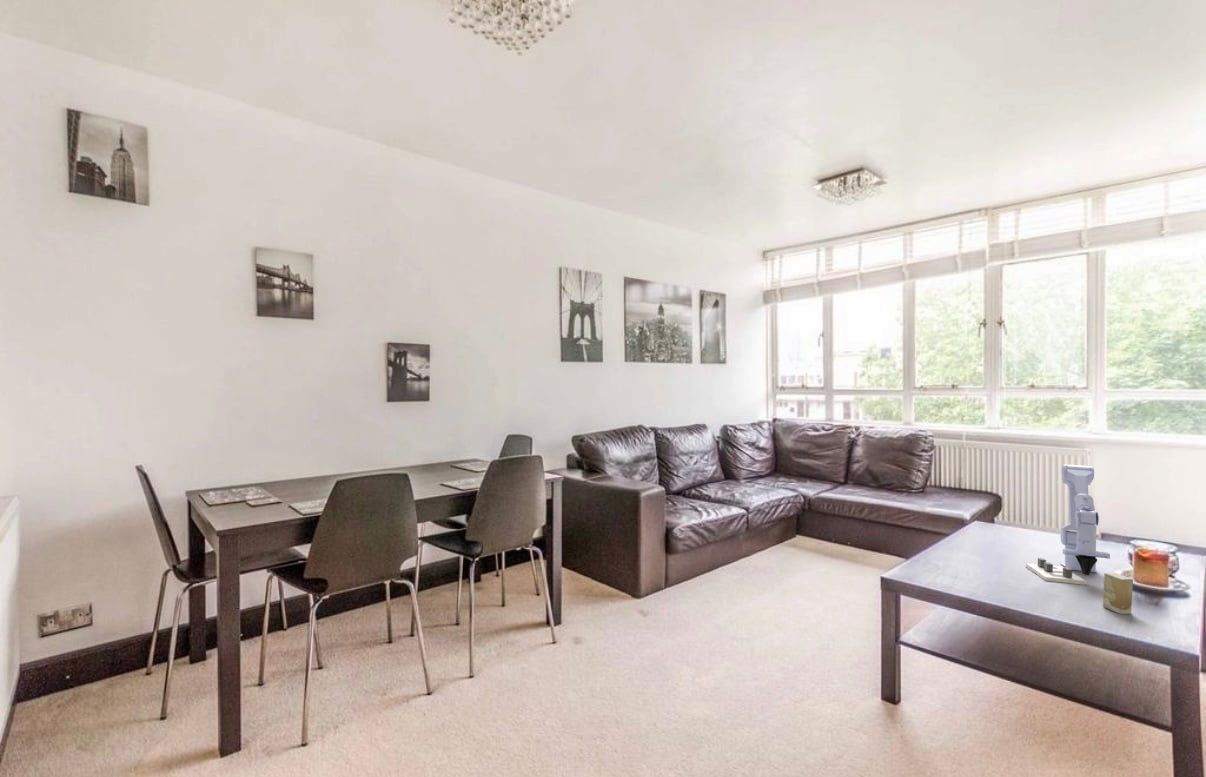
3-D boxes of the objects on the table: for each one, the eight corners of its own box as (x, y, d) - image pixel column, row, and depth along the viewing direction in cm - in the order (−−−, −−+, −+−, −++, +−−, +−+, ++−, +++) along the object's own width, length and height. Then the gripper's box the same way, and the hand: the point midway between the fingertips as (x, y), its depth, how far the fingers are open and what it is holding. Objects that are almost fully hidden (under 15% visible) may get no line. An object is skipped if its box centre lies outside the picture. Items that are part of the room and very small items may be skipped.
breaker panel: (1062, 570, 226) (1062, 559, 226) (1085, 584, 210) (1085, 572, 210) (1025, 566, 230) (1026, 555, 230) (1045, 580, 213) (1045, 568, 213)
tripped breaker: (1068, 575, 215) (1069, 567, 215) (1072, 577, 212) (1072, 569, 212) (1062, 575, 215) (1062, 567, 215) (1066, 577, 213) (1066, 569, 213)
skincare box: (1102, 606, 189) (1102, 572, 188) (1113, 606, 189) (1114, 572, 189) (1121, 614, 182) (1121, 579, 182) (1132, 614, 183) (1133, 578, 182)
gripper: (1069, 541, 210) (1068, 575, 210) (1115, 545, 206) (1114, 580, 206) (1060, 536, 217) (1059, 569, 217) (1104, 540, 213) (1103, 573, 213)
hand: (1085, 574), depth 212 cm, fingers closed
